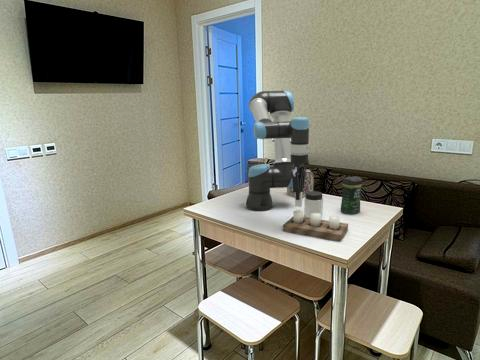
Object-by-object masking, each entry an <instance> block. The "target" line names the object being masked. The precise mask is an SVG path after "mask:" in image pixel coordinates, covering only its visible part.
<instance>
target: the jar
mask: <svg viewBox="0 0 480 360" xmlns="http://www.w3.org/2000/svg"><path fill="white" fill-rule="evenodd" d="M323 205H324V198H323V193H322V192H321V191H318V190H317V191H316V190H315V191H314V190H313V191H309V192H306V196H305V197H304V205H303V206H304V211H303V217H308V218H311V213H320V214H321V218H322V217H323V212H324V211H323V210H324V209H323V207H324V206H323Z"/></svg>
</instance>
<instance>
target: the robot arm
mask: <svg viewBox="0 0 480 360" xmlns="http://www.w3.org/2000/svg"><path fill="white" fill-rule="evenodd" d="M294 104H295V102H294V96H293V94H292V92H291V91H289V90H284V89H283V90H263V91H259V92H257V93H255V94H254V95H252V97H251V98H250V99H249V102H248V109H249V112H250V113H251V114H252V115H253V118H254V121H255V123H254V124H253V136H254V139H256V140H258V139H259V140H269V139H270V140H272V139H273V141H274V142H273V143H274V156H275V158H274V159H275V161H273V163H272V166H271V165H270V164H269V163H259V164H256V165H255V164H254V165H251V166H250V167H249V169H248V174H247V177H248V195H247V198H246V201H245V208H246V209H248V210H249V211H253V212H254V211H256V212H257V211H258V212H263V211H265V212H266V211H269V210H272V209H273V208H274V202H273V201H274V200H273V198H272V195H271V189H283V188H286V189H287V188H288V187H293V192H295V197H294V207H299V208H302V207H303V198H302V192H304V190H303V189H304V184H305V174H306V169H307V167H306V166H305V164H308V163H309V149H310V146H309V138H310V119H309V118H308V117H307V116H306V117H299V116H298V117H297V116H295V117H292V118H291V120H290V119H289V117H290V116H291V115H292V112H294V109H295V105H294Z"/></svg>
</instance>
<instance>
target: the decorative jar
mask: <svg viewBox="0 0 480 360" xmlns="http://www.w3.org/2000/svg"><path fill="white" fill-rule="evenodd" d="M314 175H315V174H314V173H313V172H312V170H311V169H307V168H306V174H305V184H304V189H303V190H304V192H302V199H303V198H304V199H305V196H306V192H309V191H314V177H315V176H314ZM286 195H288V196H291V197H292V198H293V197H294V198H295V192H293V187H288V188H286Z"/></svg>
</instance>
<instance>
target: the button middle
mask: <svg viewBox="0 0 480 360" xmlns="http://www.w3.org/2000/svg"><path fill="white" fill-rule="evenodd" d="M321 220H322V217H321V214H320V213H311V221H310V225H311V226H314V227H320V226H321Z"/></svg>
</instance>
